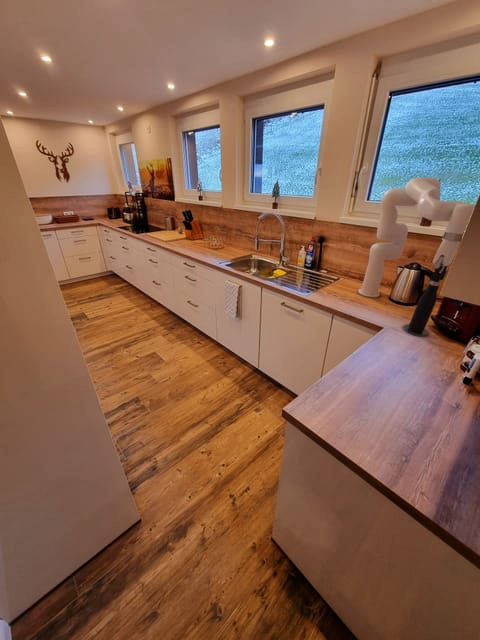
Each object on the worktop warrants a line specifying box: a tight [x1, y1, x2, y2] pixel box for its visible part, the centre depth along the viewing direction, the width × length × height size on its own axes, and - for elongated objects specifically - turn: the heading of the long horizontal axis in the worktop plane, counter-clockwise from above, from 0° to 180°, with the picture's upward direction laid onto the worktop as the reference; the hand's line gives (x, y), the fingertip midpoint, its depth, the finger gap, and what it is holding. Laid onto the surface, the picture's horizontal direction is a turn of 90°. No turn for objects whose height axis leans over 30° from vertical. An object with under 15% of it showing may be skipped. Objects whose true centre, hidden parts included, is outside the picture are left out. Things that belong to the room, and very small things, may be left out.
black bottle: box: [409, 267, 447, 332], centre depth 119 cm, size 6×6×30 cm
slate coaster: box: [403, 323, 429, 337], centre depth 127 cm, size 10×10×1 cm
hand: (436, 279), depth 114 cm, fingers closed on black bottle, 3 cm apart
